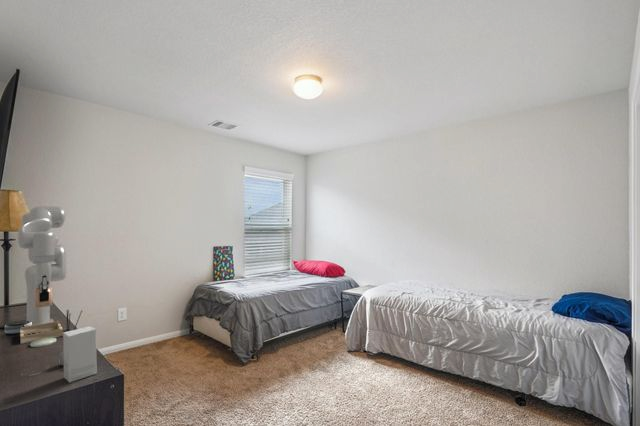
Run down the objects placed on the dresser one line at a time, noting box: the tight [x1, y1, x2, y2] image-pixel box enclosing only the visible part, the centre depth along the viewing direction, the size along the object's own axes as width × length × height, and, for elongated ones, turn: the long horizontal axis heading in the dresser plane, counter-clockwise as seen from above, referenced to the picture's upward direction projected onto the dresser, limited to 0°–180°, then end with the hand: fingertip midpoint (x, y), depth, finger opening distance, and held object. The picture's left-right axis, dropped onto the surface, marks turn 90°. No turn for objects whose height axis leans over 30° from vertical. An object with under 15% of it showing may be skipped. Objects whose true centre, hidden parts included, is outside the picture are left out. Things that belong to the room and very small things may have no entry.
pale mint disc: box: [29, 337, 57, 348], centre depth 148 cm, size 9×9×1 cm
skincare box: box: [62, 326, 98, 383], centre depth 114 cm, size 8×7×16 cm
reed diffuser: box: [58, 309, 83, 366], centre depth 125 cm, size 10×7×20 cm
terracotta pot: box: [35, 282, 53, 307], centre depth 149 cm, size 6×6×12 cm
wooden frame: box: [19, 320, 64, 345], centre depth 159 cm, size 16×15×4 cm
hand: (43, 299), depth 149 cm, fingers closed on terracotta pot, 6 cm apart
